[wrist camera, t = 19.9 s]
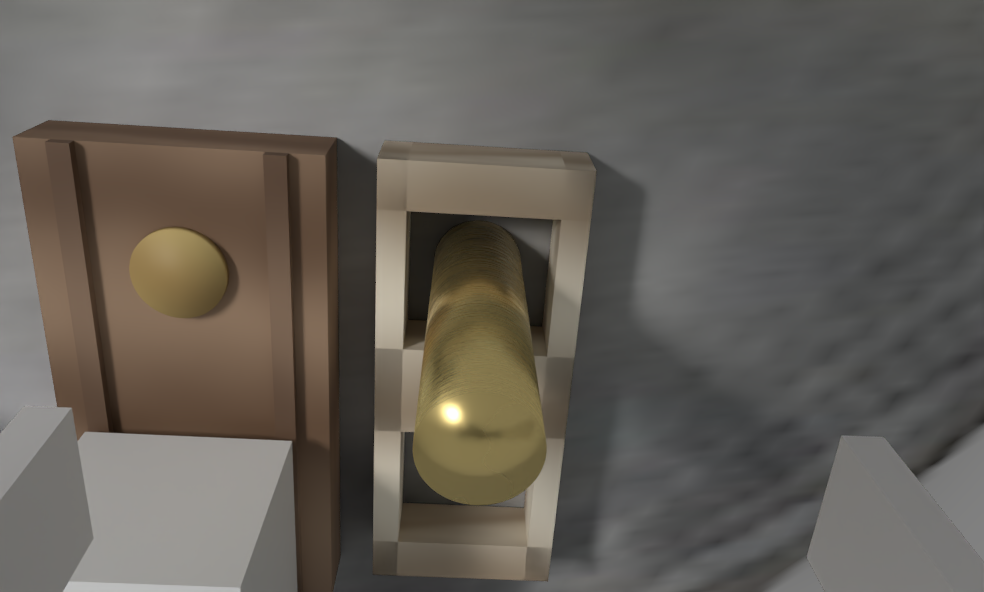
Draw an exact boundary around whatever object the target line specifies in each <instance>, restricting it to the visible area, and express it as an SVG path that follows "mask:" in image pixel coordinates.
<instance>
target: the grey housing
mask: <svg viewBox="0 0 984 592" xmlns="http://www.w3.org/2000/svg"><path fill="white" fill-rule="evenodd" d="M78 448H79V454H80V460H81V466H82V472H83V478H84V484H85V489H86V495H87V501H88V507H89V513H90V519H91V525H92V531H93V537H94V539H93V540H92V542H91V544H90V546H89V547H88V549H87V551H86V553H85V554H84V556H83V558H82V559H81V561H80V563H79V565H78V566H77V568H76V570H75V572H74V573H73V575H72V577H71V578H70V580H69V582H68V584H67V585H66V587H65V589H64V591H63V592H298V591H297V563H296V536H295V508H294V480H293V452H292V441H283V440H260V439H238V438H215V437H193V436H170V435H148V434H125V433H103V432H84V434H83V435H82V436H81V438H80V439H79V440H78Z"/></svg>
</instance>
